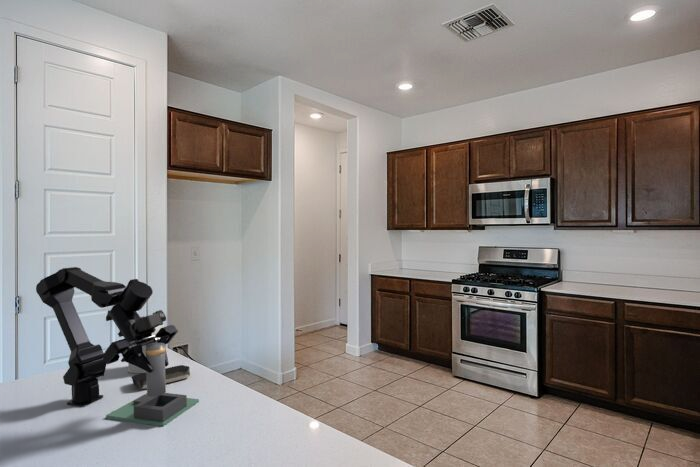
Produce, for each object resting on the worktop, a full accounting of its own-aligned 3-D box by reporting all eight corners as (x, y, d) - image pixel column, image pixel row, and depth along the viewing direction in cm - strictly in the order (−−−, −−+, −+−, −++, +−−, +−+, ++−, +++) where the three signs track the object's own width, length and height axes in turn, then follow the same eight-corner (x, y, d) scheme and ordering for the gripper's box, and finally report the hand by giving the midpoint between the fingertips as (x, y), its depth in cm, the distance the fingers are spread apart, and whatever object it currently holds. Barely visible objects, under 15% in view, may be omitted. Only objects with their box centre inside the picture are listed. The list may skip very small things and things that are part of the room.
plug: (142, 396, 101) (141, 347, 100) (152, 389, 105) (151, 342, 105) (160, 397, 100) (159, 348, 100) (169, 389, 105) (168, 342, 105)
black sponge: (137, 393, 120) (136, 381, 120) (131, 385, 126) (131, 373, 126) (192, 379, 130) (192, 368, 130) (184, 372, 137) (184, 362, 137)
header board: (106, 418, 104) (105, 404, 104) (146, 395, 117) (146, 383, 117) (163, 426, 99) (163, 411, 99) (198, 402, 112) (198, 388, 112)
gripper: (109, 309, 95) (143, 361, 91) (172, 296, 112) (203, 339, 108) (89, 338, 99) (120, 389, 94) (153, 321, 116) (182, 363, 112)
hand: (159, 368), depth 102 cm, fingers closed on plug, 4 cm apart
